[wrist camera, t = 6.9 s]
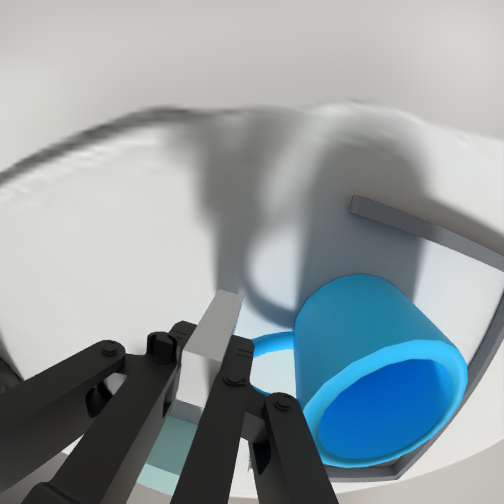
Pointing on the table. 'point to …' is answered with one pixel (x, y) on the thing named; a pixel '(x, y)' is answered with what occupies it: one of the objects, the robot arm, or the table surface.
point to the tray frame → (498, 331)
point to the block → (168, 455)
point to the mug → (369, 371)
